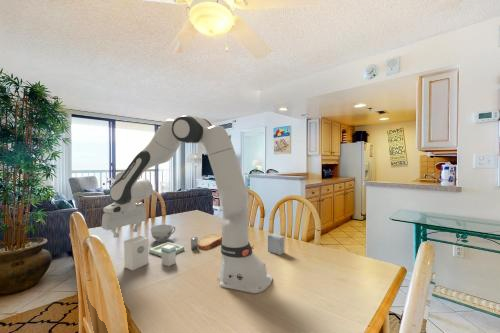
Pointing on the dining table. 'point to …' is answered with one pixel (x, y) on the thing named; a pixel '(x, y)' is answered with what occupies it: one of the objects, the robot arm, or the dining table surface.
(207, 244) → the bread slice
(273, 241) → the medicine box
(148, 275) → the dining table surface
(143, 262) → the cream tall block
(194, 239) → the cylinder
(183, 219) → the dining table surface
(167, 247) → the teal band cartridge
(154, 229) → the teacup
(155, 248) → the tray
